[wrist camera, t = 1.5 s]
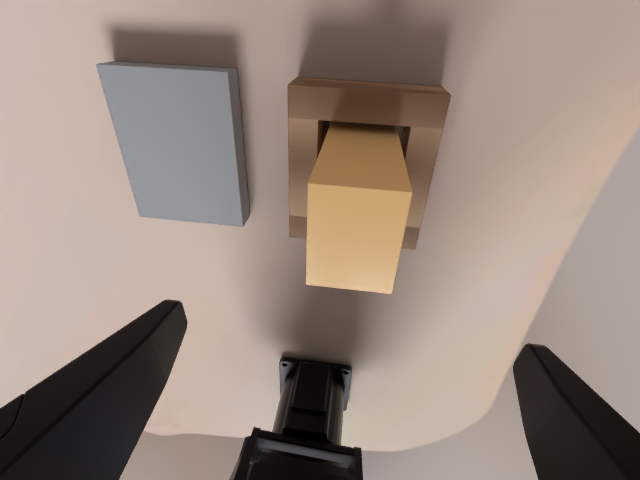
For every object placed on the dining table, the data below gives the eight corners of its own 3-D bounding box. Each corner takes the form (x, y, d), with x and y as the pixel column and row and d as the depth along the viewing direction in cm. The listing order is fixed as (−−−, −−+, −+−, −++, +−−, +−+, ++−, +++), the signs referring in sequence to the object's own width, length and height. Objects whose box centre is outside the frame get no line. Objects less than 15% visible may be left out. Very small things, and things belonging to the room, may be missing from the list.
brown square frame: (410, 227, 22) (415, 249, 20) (297, 216, 23) (289, 236, 21) (441, 86, 17) (450, 95, 15) (297, 77, 18) (287, 84, 16)
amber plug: (384, 196, 21) (391, 294, 14) (328, 192, 22) (305, 284, 14) (395, 122, 19) (412, 192, 11) (332, 118, 19) (307, 183, 12)
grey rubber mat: (249, 215, 23) (243, 226, 22) (152, 206, 24) (139, 216, 22) (237, 68, 18) (227, 72, 17) (114, 61, 19) (95, 64, 18)
